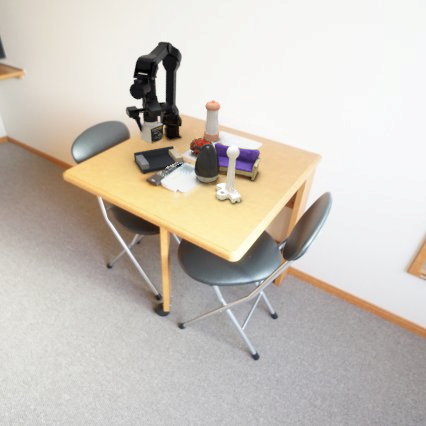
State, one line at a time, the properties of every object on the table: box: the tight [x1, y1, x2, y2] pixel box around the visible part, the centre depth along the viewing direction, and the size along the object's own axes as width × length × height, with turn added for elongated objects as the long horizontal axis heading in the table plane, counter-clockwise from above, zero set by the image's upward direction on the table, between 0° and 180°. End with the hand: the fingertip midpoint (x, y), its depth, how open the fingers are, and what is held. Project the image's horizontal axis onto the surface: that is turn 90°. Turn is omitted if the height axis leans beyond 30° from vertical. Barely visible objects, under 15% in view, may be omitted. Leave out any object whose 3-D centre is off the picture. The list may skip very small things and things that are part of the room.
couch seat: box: [133, 145, 184, 175], centre depth 137 cm, size 18×12×4 cm, turn 117°
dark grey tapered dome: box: [193, 144, 221, 183], centre depth 125 cm, size 10×10×15 cm
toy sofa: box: [213, 141, 262, 181], centre depth 132 cm, size 21×9×10 cm, turn 70°
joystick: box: [216, 145, 242, 204], centre depth 114 cm, size 11×8×20 cm
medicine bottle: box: [139, 112, 164, 145], centre depth 135 cm, size 7×7×12 cm
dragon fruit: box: [189, 137, 214, 156], centre depth 145 cm, size 8×8×12 cm
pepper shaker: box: [203, 99, 221, 143], centre depth 155 cm, size 7×7×19 cm
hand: (151, 129), depth 135 cm, fingers closed on medicine bottle, 9 cm apart
